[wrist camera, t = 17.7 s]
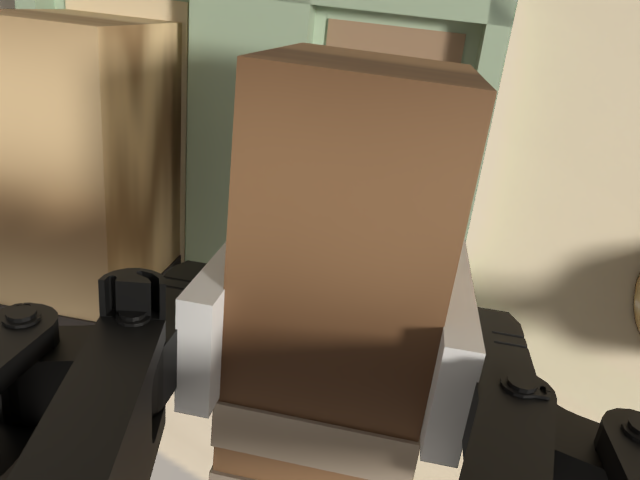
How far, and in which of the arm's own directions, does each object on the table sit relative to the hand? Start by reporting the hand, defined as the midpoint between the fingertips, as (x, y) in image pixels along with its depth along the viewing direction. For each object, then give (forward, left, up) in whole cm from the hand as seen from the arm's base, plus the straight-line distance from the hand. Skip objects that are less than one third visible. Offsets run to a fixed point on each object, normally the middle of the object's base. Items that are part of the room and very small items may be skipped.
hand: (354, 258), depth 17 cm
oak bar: (0, -10, -6) cm, 12 cm away
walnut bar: (0, 0, 0) cm, 0 cm away
